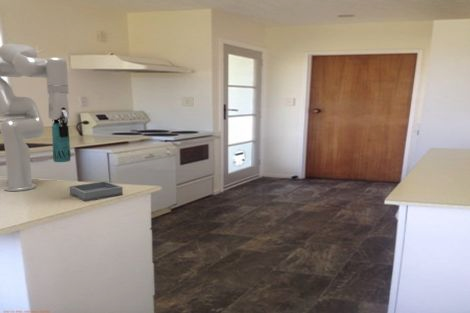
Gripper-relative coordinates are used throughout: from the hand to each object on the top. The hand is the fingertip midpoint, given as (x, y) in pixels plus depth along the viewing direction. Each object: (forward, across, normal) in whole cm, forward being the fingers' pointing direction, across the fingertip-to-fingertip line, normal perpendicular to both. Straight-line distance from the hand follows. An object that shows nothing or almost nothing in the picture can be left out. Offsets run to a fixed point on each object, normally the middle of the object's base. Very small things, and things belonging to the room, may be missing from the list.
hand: (60, 135), depth 155 cm
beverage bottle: (+12, 0, 0) cm, 12 cm away
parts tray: (+26, +2, +12) cm, 28 cm away
